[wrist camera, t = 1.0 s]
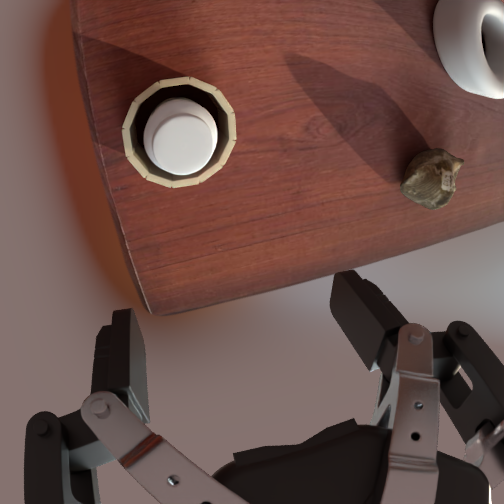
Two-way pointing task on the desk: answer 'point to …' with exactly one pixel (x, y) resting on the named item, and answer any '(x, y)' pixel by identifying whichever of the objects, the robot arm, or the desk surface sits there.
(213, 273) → the desk surface
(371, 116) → the desk surface
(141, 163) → the bracelet
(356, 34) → the desk surface
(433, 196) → the fossilized seashell
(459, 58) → the fat ring
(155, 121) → the pill bottle
